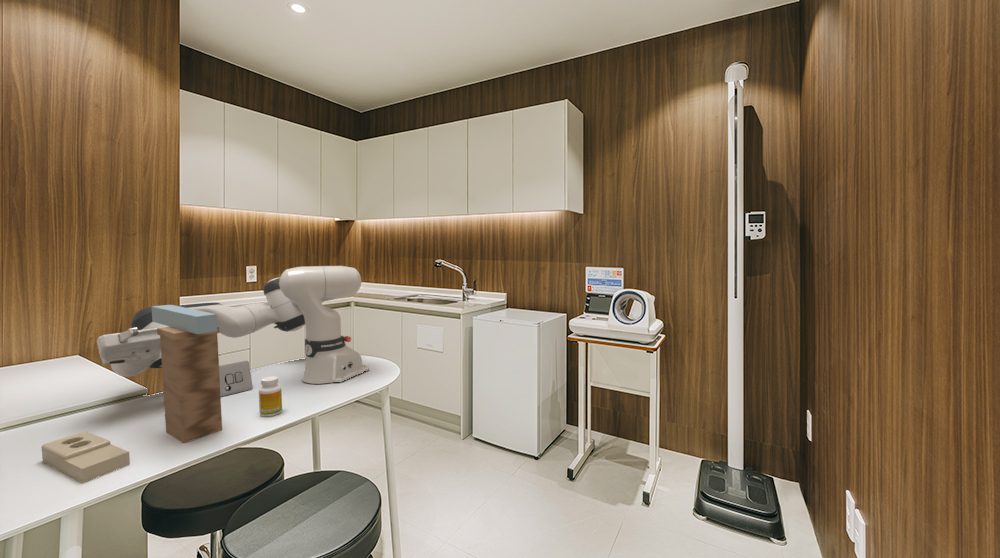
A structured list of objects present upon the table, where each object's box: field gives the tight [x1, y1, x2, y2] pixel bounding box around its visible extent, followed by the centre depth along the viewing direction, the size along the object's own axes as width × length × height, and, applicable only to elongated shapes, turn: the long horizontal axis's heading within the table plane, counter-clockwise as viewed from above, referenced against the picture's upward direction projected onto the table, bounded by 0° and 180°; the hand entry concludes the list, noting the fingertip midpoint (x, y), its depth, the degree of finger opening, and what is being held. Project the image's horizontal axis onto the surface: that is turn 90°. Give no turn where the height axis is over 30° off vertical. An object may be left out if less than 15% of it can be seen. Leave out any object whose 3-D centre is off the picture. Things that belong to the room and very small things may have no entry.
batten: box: [150, 304, 217, 334], centre depth 97 cm, size 4×26×4 cm, turn 58°
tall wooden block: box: [157, 326, 223, 444], centre depth 97 cm, size 9×10×26 cm
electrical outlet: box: [41, 431, 131, 484], centre depth 83 cm, size 7×4×18 cm
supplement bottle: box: [258, 376, 283, 417], centre depth 108 cm, size 5×5×10 cm
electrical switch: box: [219, 360, 253, 397], centre depth 124 cm, size 9×5×9 cm, turn 141°
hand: (157, 327), depth 105 cm, fingers open, 8 cm apart
